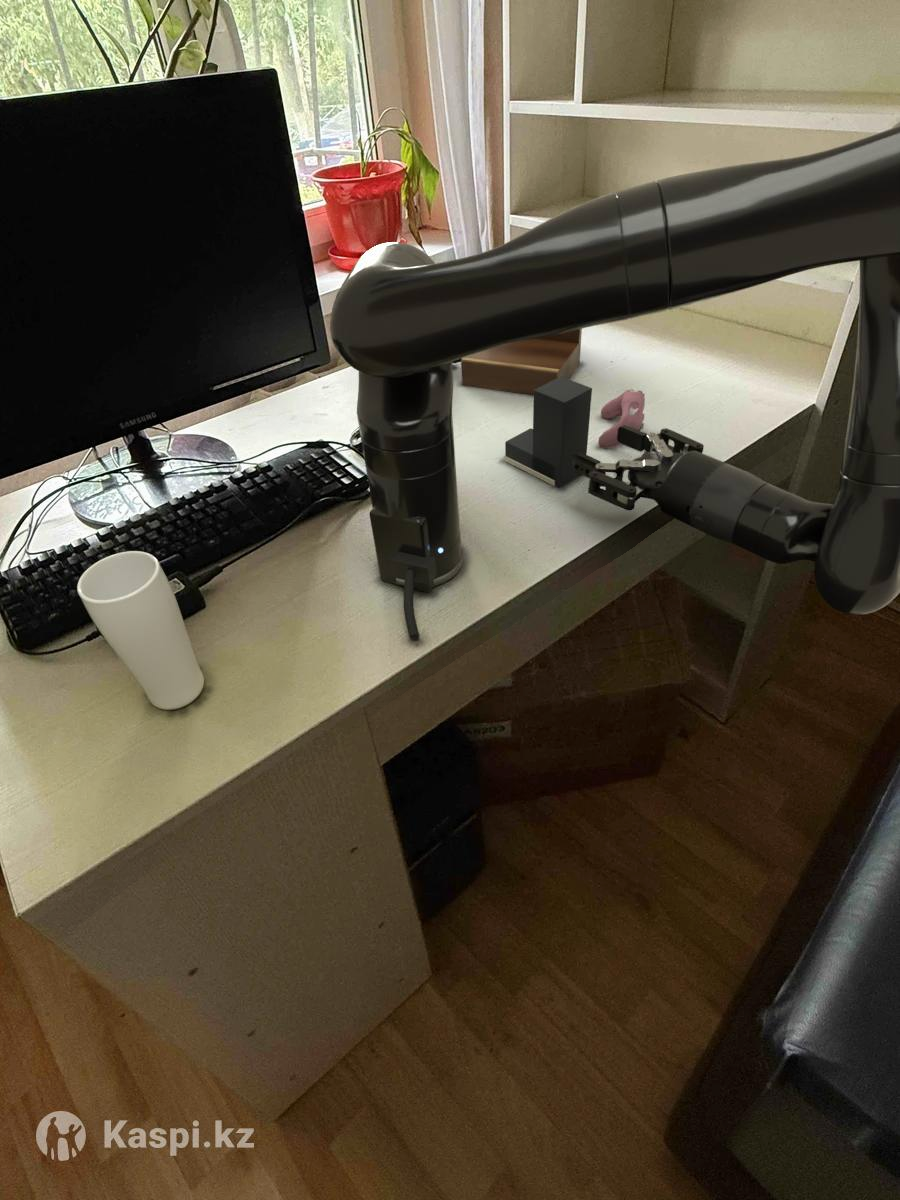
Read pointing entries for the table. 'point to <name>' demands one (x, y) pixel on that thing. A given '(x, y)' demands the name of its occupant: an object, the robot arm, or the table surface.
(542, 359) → the wooden l-shaped stand
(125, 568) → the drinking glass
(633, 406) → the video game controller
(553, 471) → the dark l-shaped block
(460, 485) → the table surface
